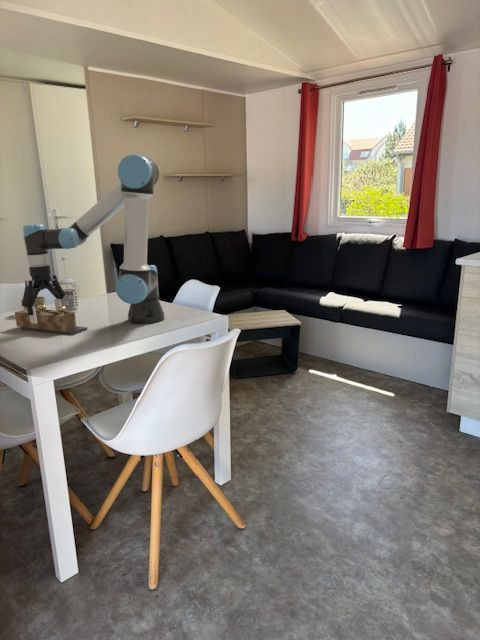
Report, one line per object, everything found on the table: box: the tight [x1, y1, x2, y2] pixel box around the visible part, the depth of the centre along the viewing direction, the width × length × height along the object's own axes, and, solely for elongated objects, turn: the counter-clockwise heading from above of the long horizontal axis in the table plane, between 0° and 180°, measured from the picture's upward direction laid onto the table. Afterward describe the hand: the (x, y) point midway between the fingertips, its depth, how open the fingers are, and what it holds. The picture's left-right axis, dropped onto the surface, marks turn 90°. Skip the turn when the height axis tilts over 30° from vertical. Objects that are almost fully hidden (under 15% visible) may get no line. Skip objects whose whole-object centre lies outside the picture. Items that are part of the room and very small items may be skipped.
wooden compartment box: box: [14, 309, 77, 331], centre depth 185 cm, size 24×7×6 cm, turn 68°
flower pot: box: [20, 296, 46, 309], centre depth 212 cm, size 10×10×7 cm
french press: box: [58, 256, 82, 314], centre depth 214 cm, size 10×12×25 cm
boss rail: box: [20, 304, 88, 336], centre depth 183 cm, size 26×8×10 cm, turn 68°
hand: (47, 318), depth 185 cm, fingers open, 13 cm apart
